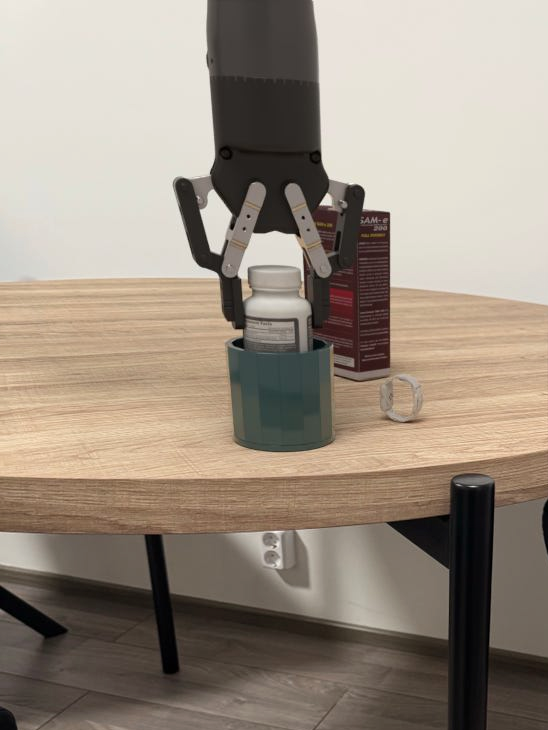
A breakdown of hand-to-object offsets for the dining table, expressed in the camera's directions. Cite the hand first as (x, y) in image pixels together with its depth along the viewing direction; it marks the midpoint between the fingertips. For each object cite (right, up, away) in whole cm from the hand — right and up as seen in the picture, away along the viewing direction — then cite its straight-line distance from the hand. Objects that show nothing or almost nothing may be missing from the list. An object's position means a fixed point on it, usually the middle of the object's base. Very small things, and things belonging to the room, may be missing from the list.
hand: (277, 326), depth 73 cm
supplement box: (+2, +4, +27) cm, 27 cm away
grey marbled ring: (+9, -5, +10) cm, 14 cm away
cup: (0, -8, +4) cm, 9 cm away
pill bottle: (0, -5, +3) cm, 6 cm away
